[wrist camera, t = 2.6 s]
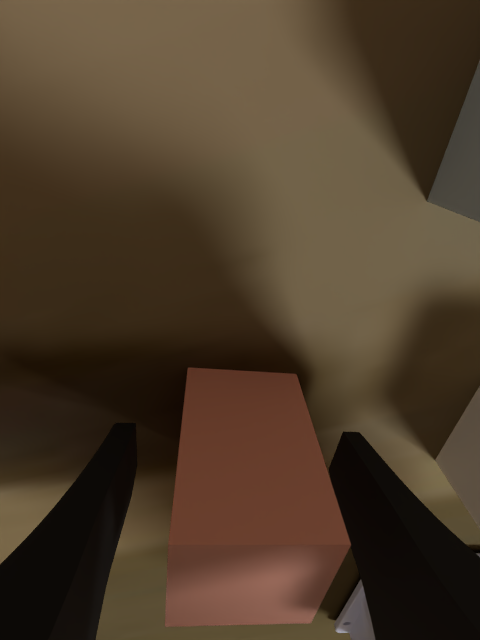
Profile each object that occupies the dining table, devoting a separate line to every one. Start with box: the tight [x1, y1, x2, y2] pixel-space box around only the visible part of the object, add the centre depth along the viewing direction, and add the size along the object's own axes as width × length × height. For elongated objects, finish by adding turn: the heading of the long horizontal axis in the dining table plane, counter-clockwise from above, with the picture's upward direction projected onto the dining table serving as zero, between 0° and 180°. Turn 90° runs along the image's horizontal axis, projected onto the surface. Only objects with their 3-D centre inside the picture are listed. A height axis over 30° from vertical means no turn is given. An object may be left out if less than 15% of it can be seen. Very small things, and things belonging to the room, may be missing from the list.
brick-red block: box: [165, 367, 351, 627], centre depth 11 cm, size 4×4×6 cm
